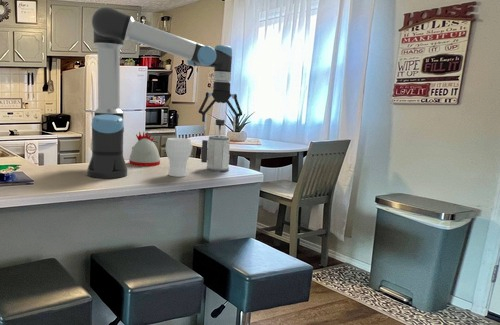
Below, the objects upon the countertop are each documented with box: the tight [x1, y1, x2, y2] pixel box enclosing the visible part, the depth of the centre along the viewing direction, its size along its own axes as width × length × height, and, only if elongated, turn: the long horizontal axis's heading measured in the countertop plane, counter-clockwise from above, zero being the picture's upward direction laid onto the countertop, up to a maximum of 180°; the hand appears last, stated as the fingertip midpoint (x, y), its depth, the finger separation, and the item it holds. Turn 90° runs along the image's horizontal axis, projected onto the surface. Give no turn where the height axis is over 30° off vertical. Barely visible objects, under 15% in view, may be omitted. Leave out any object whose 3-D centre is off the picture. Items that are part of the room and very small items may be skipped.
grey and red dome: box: [128, 131, 161, 167], centre depth 204 cm, size 14×14×15 cm
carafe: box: [200, 135, 231, 173], centre depth 201 cm, size 12×10×15 cm
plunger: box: [215, 118, 225, 137], centre depth 200 cm, size 6×6×19 cm
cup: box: [165, 137, 193, 178], centre depth 183 cm, size 11×11×15 cm
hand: (219, 130), depth 199 cm, fingers open, 12 cm apart
